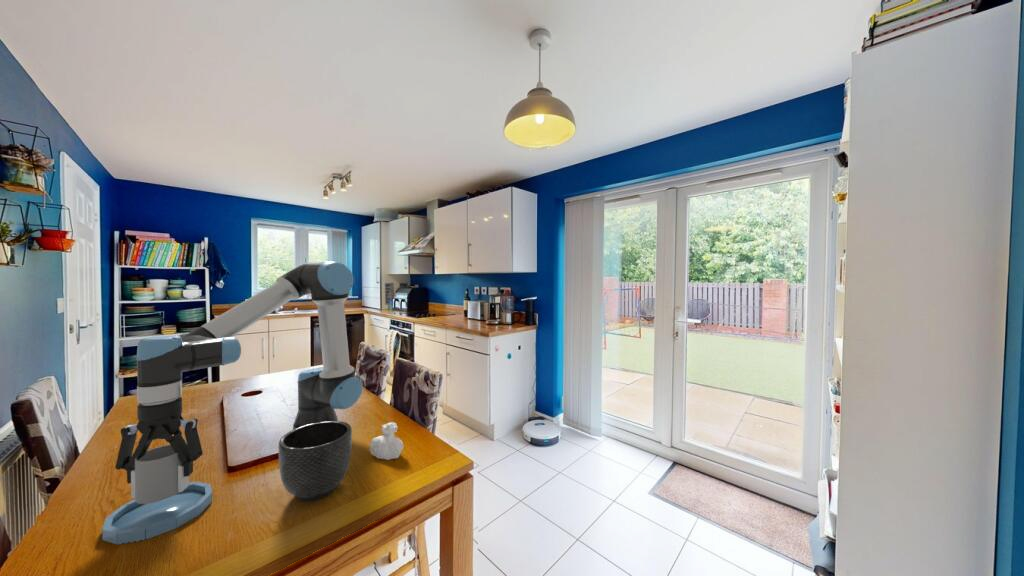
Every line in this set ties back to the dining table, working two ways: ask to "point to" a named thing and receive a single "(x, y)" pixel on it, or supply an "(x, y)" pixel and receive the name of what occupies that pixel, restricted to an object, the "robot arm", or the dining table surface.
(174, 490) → the cup
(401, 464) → the dining table surface
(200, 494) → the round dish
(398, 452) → the duck figurine
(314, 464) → the planter
